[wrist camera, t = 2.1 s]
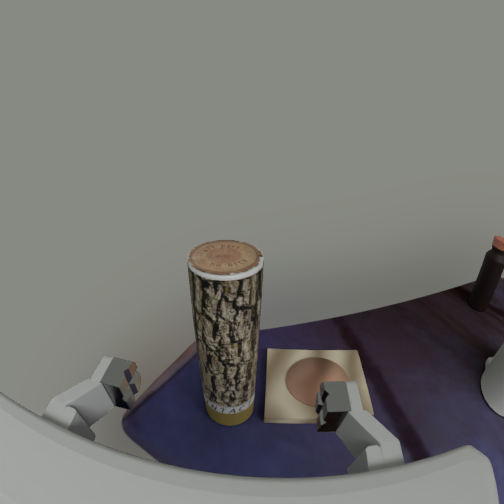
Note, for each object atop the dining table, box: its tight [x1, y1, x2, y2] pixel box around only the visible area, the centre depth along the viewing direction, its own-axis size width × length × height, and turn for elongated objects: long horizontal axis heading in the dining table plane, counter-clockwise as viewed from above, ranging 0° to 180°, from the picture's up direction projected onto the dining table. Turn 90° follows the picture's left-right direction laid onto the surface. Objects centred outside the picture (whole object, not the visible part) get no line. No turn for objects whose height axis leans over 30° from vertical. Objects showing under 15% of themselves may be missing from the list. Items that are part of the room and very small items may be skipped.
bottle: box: [468, 236, 504, 312], centre depth 53 cm, size 7×7×20 cm
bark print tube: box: [188, 240, 264, 426], centre depth 30 cm, size 7×7×25 cm
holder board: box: [264, 348, 374, 423], centre depth 39 cm, size 16×14×2 cm
